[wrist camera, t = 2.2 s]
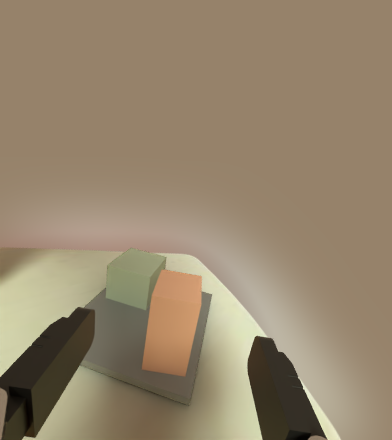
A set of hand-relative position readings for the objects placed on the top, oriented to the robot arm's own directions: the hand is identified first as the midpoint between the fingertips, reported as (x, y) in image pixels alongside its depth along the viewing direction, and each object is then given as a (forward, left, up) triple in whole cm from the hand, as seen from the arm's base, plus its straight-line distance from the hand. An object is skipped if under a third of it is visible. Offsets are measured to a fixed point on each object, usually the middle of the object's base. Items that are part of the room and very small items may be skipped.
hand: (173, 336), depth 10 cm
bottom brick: (-11, +20, -15) cm, 27 cm away
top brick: (-2, +11, -15) cm, 19 cm away
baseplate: (-7, +16, -16) cm, 24 cm away
